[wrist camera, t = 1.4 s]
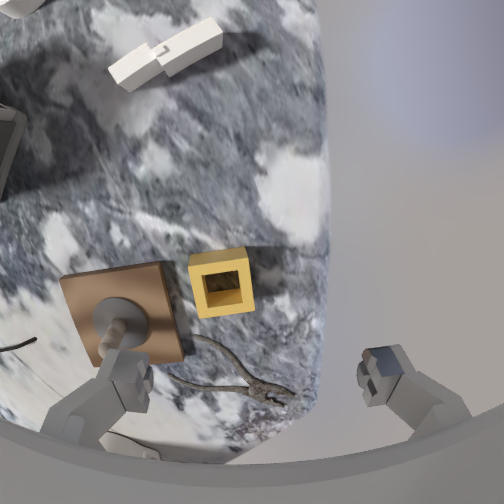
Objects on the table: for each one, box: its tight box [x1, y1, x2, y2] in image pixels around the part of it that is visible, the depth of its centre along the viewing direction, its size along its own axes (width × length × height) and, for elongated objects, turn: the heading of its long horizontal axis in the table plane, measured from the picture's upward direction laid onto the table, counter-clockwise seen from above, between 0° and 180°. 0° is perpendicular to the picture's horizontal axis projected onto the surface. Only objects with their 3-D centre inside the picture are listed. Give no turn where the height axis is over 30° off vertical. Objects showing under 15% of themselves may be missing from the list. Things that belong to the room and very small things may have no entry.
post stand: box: [59, 261, 185, 367], centre depth 33 cm, size 14×14×9 cm
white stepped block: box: [108, 17, 223, 93], centre depth 26 cm, size 15×11×6 cm
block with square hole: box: [188, 247, 255, 319], centre depth 35 cm, size 6×6×4 cm
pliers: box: [167, 334, 295, 408], centre depth 42 cm, size 10×1×20 cm
